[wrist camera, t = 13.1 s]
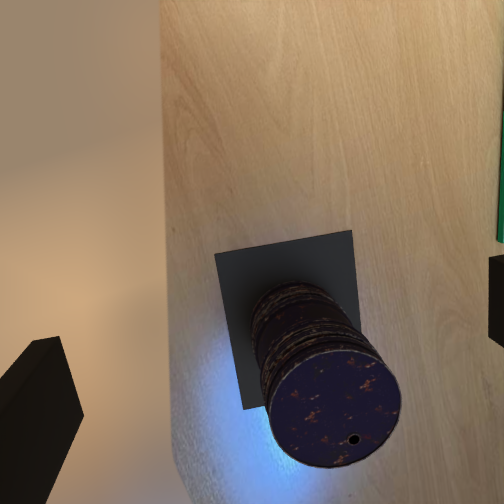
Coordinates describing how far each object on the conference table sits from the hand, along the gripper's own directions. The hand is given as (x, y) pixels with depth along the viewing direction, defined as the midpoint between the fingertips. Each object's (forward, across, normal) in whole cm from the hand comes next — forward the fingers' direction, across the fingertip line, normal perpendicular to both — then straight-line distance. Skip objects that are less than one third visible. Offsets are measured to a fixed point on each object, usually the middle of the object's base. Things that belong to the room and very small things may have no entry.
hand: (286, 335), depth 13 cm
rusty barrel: (+29, +4, -14) cm, 32 cm away
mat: (+28, +4, -14) cm, 32 cm away
